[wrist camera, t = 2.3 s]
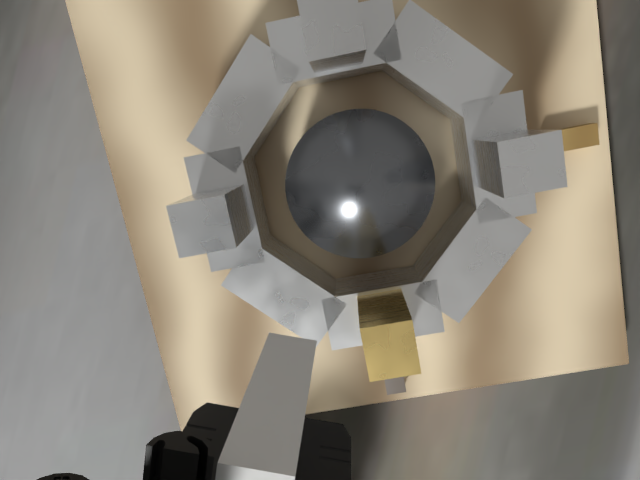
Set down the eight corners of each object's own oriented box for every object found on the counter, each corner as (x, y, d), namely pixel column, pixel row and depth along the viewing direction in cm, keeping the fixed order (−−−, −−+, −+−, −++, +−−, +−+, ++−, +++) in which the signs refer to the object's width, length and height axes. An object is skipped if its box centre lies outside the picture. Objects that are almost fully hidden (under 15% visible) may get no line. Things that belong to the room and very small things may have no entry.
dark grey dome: (306, 252, 27) (301, 270, 24) (280, 125, 26) (271, 125, 23) (432, 229, 27) (445, 244, 23) (412, 99, 26) (422, 94, 22)
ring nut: (245, 341, 28) (213, 410, 21) (178, 56, 25) (116, 29, 18) (526, 294, 27) (589, 350, 20) (488, -11, 24) (545, -66, 17)
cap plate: (189, 419, 31) (177, 441, 29) (73, -18, 27) (48, -32, 24) (614, 351, 29) (637, 370, 27) (568, -133, 25) (591, -159, 22)
